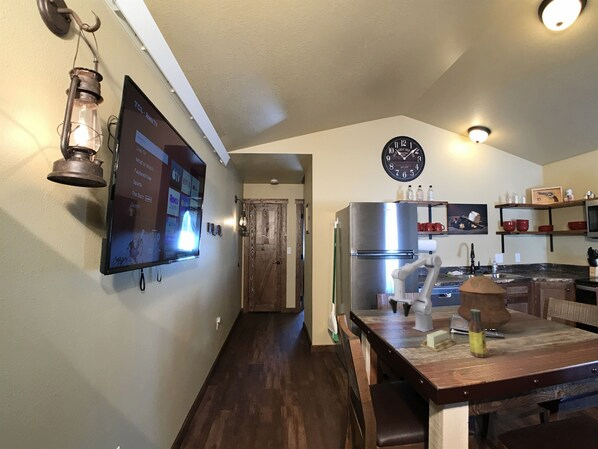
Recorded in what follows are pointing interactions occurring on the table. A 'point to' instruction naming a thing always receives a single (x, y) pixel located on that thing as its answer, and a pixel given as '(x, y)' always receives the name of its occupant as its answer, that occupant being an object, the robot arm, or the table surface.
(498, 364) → the table surface
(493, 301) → the pottery vessel
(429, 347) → the tan flat piece
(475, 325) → the sauce bottle
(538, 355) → the table surface
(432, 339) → the cream rectangular block
